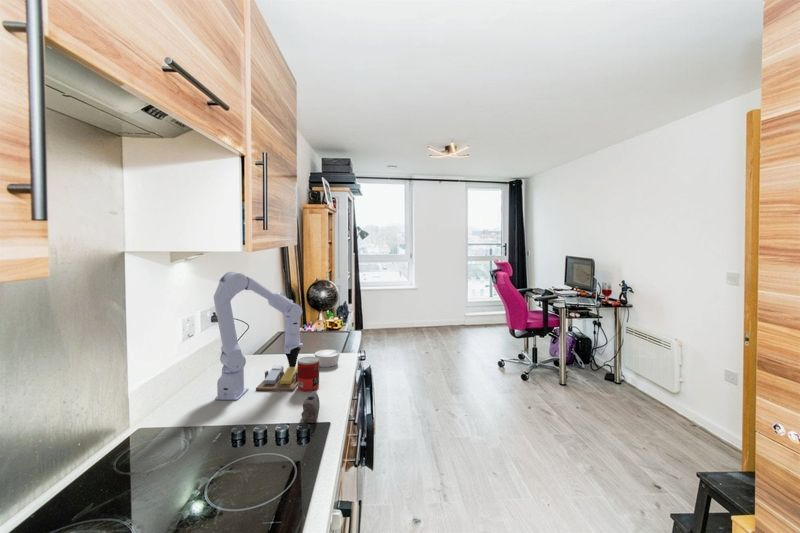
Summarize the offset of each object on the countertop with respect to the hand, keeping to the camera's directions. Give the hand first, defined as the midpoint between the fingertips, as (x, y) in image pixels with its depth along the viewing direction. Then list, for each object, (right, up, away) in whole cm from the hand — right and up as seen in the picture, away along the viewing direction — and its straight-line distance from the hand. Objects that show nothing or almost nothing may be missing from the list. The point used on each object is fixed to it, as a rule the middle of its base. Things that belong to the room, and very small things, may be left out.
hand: (292, 366), depth 145 cm
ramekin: (+10, -5, +19) cm, 22 cm away
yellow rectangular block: (0, -2, -4) cm, 5 cm away
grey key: (-6, -2, -4) cm, 8 cm away
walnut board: (-3, -6, -4) cm, 7 cm away
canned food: (+9, -6, -8) cm, 13 cm away
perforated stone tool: (+15, -8, -30) cm, 34 cm away
